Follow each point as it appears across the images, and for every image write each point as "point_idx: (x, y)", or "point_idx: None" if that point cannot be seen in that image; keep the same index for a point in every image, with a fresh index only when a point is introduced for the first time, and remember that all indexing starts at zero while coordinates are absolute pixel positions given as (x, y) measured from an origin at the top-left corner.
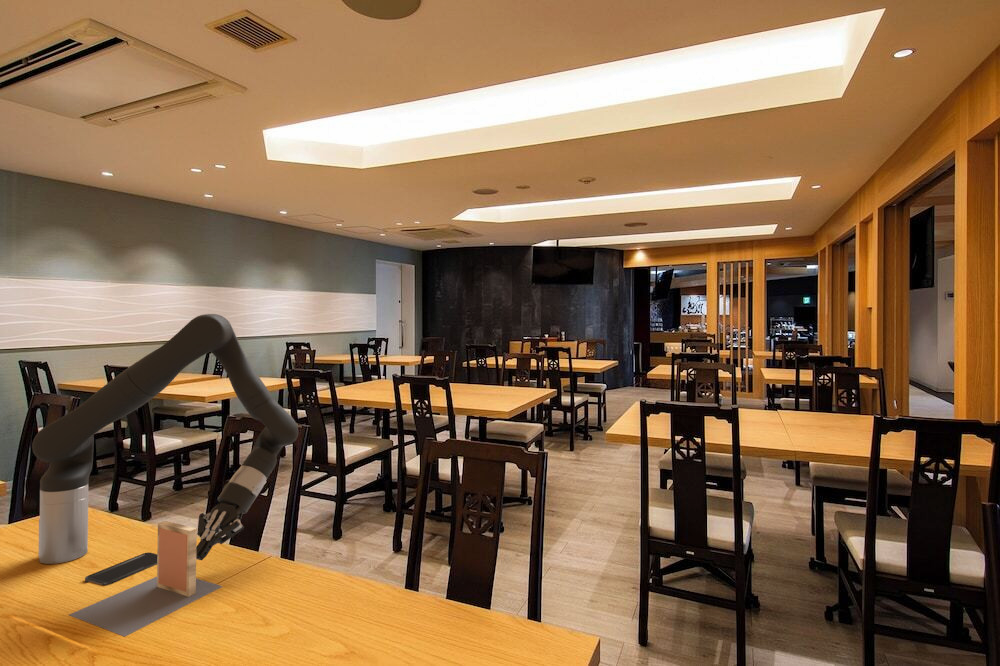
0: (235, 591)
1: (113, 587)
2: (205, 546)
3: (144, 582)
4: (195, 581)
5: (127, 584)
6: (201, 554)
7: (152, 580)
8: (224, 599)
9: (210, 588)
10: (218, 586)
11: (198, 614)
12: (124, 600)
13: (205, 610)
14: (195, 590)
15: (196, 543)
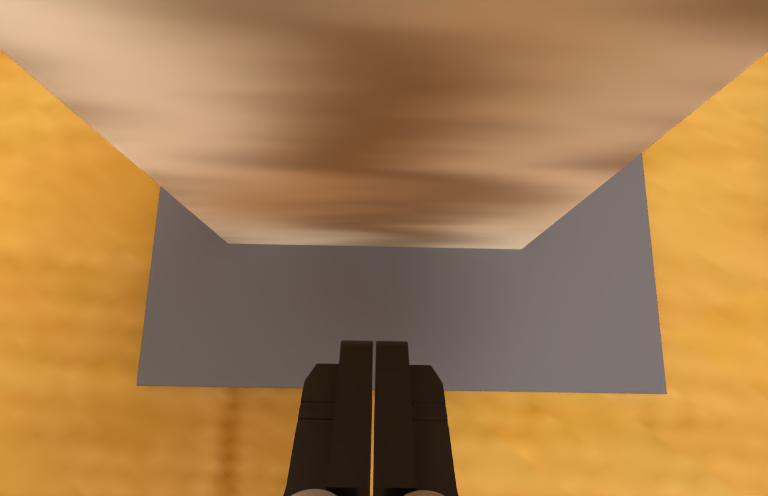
0: (31, 388)
1: (744, 120)
2: (316, 446)
3: (639, 209)
4: (205, 220)
5: (717, 173)
6: (311, 375)
7: (624, 246)
8: (26, 283)
9: (191, 326)
10: (163, 369)
11: (47, 113)
12: None
13: (41, 154)
14: (222, 236)
15: (11, 58)
